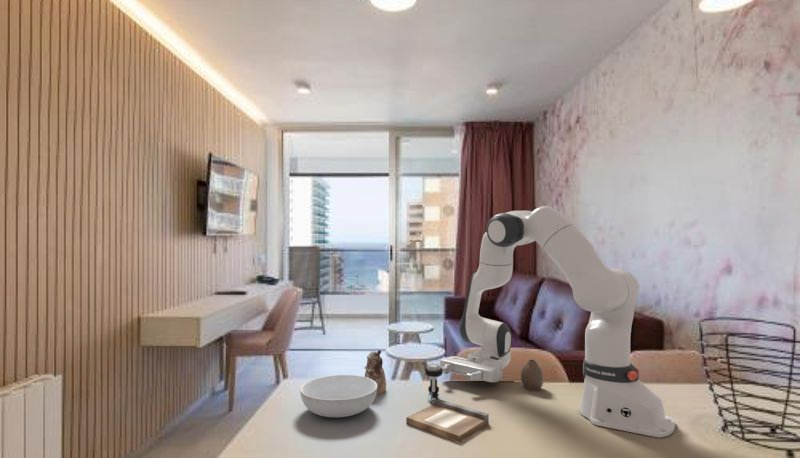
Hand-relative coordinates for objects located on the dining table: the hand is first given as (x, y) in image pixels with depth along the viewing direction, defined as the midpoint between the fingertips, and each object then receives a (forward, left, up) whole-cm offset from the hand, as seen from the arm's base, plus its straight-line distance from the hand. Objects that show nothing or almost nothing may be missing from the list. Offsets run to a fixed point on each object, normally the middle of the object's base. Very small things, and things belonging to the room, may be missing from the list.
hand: (456, 374), depth 138 cm
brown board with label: (-12, +23, -5) cm, 26 cm away
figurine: (+19, +17, -5) cm, 26 cm away
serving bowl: (+15, +35, -5) cm, 38 cm away
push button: (0, +12, -5) cm, 13 cm away
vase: (-17, -17, -5) cm, 25 cm away
